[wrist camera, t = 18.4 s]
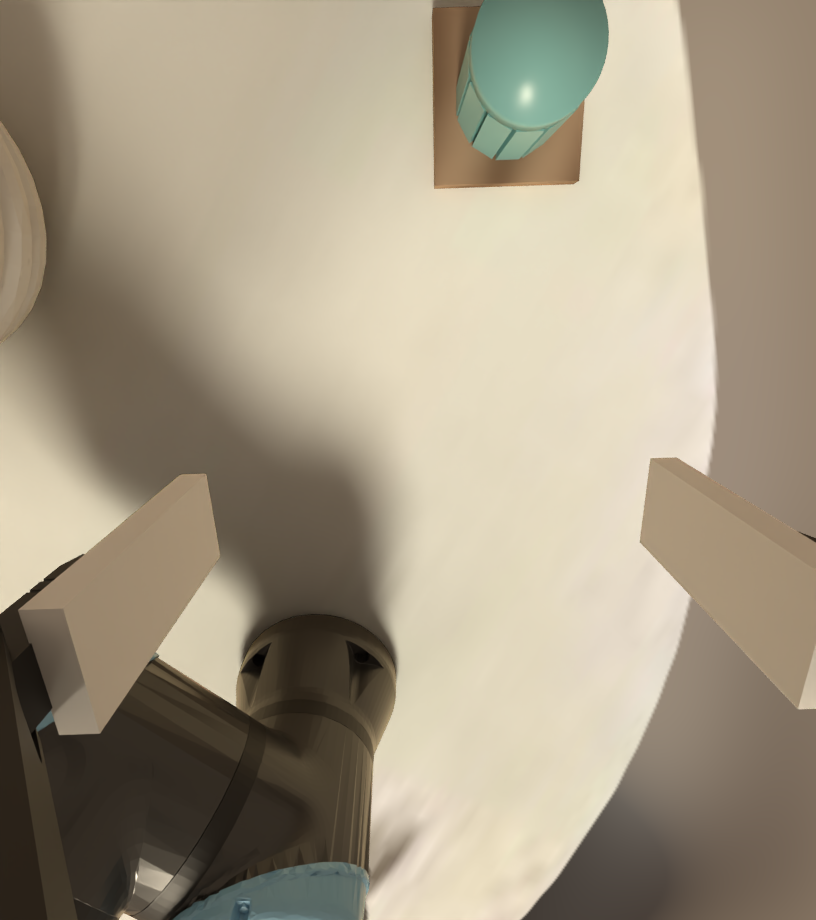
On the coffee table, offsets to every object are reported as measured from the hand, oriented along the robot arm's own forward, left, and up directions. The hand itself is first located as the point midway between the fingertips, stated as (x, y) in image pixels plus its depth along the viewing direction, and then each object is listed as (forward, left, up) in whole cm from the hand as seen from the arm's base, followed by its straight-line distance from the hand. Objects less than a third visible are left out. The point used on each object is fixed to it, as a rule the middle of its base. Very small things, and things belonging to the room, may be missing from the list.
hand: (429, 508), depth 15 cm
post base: (+7, +18, -27) cm, 33 cm away
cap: (+7, +18, -26) cm, 32 cm away
